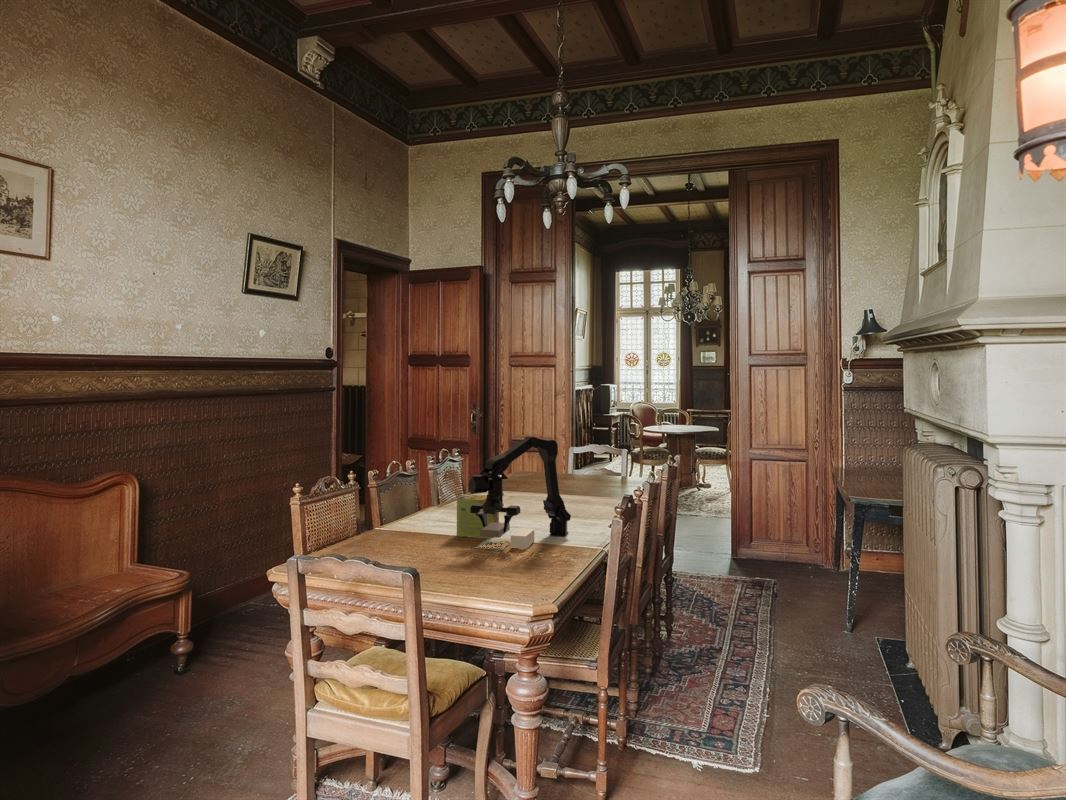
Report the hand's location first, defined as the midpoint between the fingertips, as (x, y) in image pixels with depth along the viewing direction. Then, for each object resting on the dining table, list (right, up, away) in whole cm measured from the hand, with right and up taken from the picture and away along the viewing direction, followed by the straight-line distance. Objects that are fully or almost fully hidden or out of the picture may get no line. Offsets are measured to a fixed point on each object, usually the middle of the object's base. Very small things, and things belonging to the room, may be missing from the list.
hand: (495, 531), depth 257 cm
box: (+11, -5, -1) cm, 12 cm away
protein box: (-8, -5, +17) cm, 19 cm away
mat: (0, -5, 0) cm, 5 cm away
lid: (0, -1, 0) cm, 1 cm away
